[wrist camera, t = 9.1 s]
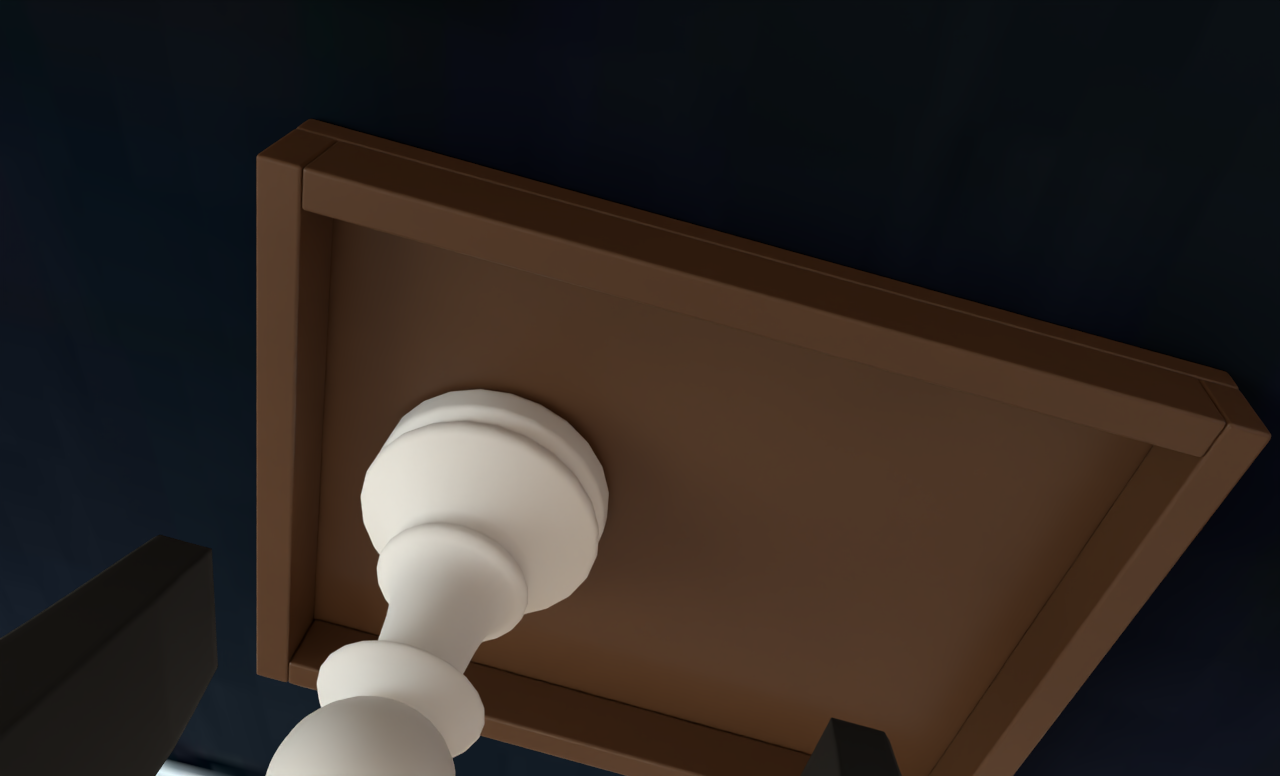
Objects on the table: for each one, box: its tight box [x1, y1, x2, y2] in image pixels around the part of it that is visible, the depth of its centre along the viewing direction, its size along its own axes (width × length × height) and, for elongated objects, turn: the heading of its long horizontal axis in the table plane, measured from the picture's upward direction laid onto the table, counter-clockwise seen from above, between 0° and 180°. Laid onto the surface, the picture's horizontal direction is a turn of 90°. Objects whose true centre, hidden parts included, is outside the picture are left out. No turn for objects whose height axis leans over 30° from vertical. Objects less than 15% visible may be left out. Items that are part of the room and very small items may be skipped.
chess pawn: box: [266, 389, 609, 776], centre depth 17 cm, size 5×5×9 cm
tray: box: [257, 119, 1271, 776], centre depth 20 cm, size 18×14×2 cm
